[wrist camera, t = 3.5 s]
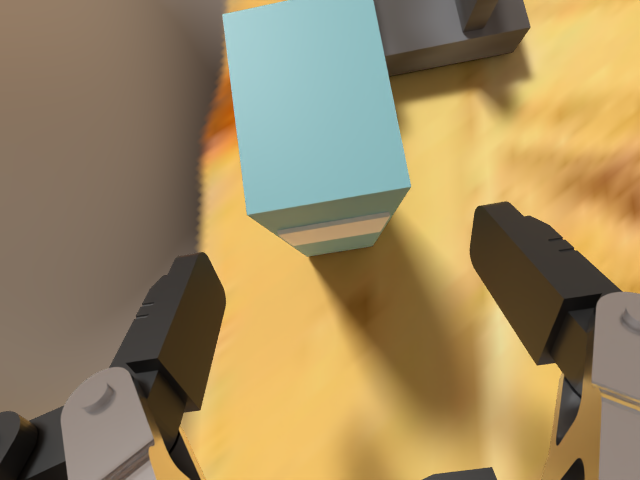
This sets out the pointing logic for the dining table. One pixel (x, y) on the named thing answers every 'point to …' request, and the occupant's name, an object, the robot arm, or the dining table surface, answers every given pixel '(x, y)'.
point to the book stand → (447, 31)
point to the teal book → (315, 122)
